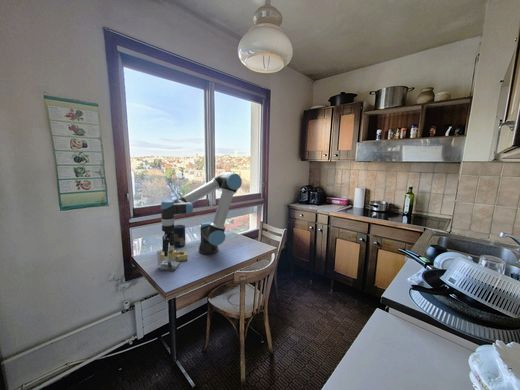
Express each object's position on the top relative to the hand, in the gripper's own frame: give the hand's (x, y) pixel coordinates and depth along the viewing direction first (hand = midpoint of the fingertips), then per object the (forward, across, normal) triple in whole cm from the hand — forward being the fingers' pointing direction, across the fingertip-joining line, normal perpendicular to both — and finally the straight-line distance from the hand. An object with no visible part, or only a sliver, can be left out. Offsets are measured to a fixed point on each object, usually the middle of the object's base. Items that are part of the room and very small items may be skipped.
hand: (169, 257), depth 147 cm
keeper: (+7, 0, -1) cm, 7 cm away
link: (0, 0, 0) cm, 0 cm away
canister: (+7, -38, -6) cm, 39 cm away
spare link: (+7, -13, +3) cm, 15 cm away
